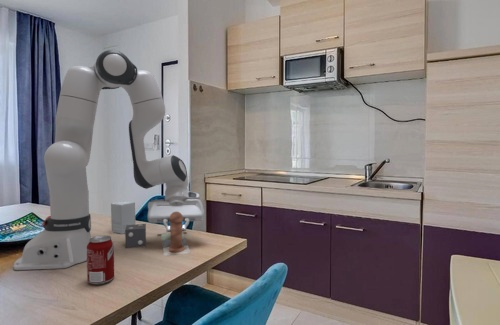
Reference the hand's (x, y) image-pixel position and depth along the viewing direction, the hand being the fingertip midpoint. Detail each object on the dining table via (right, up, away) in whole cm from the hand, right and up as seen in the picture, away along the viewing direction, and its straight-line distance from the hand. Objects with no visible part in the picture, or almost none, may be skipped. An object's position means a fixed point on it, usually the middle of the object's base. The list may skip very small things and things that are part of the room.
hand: (176, 231), depth 109 cm
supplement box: (-30, -6, +27) cm, 40 cm away
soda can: (-15, -9, -23) cm, 29 cm away
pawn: (0, -7, +1) cm, 7 cm away
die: (-17, -7, +8) cm, 20 cm away
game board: (-3, -7, +10) cm, 12 cm away
